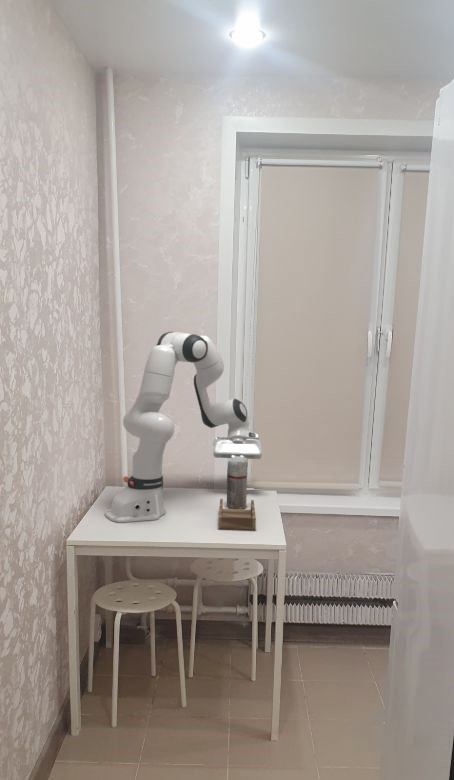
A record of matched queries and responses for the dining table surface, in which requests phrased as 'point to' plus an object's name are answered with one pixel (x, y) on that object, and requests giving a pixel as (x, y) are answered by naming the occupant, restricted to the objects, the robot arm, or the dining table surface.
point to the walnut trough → (237, 518)
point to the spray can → (237, 482)
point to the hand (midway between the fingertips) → (237, 466)
